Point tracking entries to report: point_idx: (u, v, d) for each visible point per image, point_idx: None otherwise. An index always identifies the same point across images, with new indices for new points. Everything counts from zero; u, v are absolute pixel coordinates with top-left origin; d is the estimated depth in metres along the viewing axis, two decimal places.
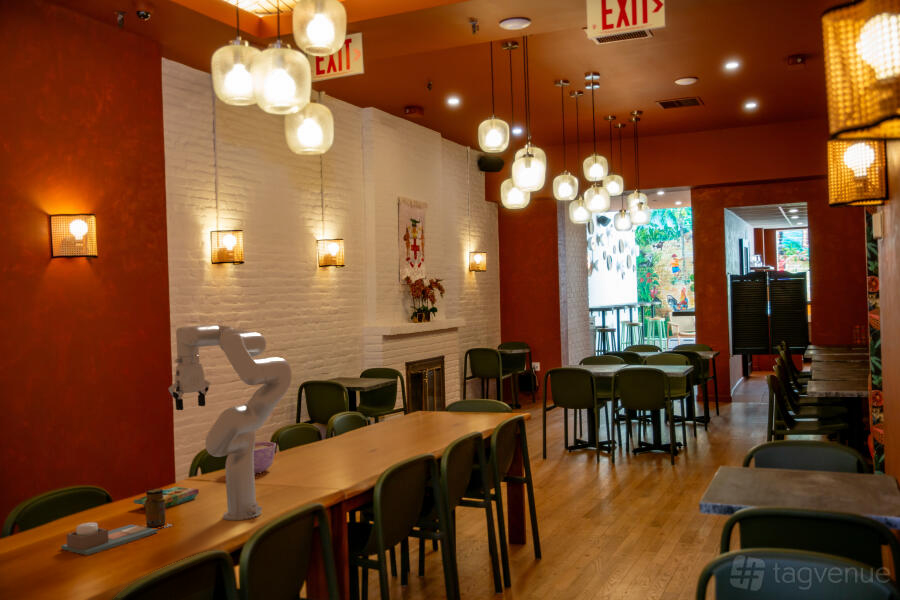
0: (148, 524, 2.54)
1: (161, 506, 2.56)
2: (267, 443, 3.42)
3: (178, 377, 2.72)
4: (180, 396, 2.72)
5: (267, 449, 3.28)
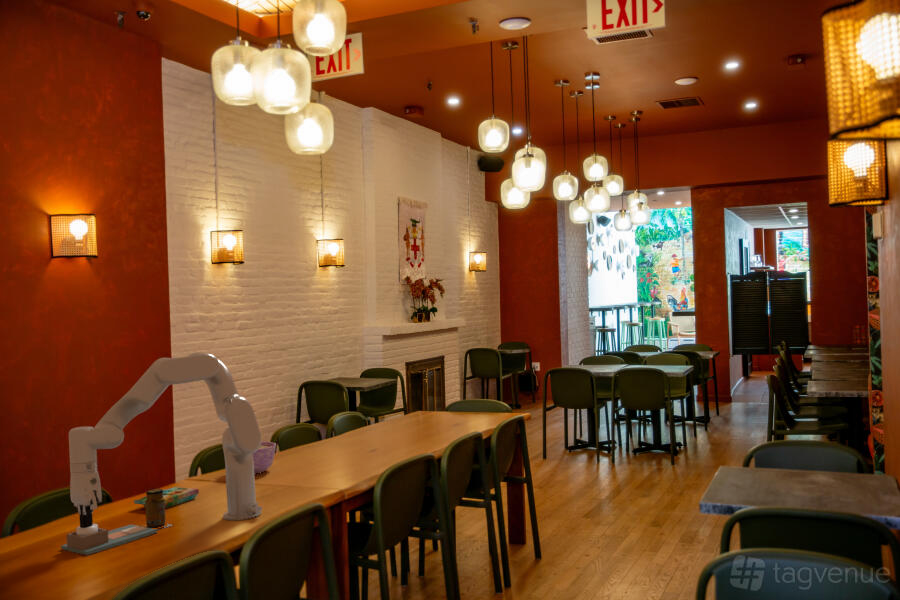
0: (148, 524, 2.54)
1: (161, 506, 2.56)
2: (267, 443, 3.42)
3: (95, 486, 2.33)
4: None
5: (267, 449, 3.28)
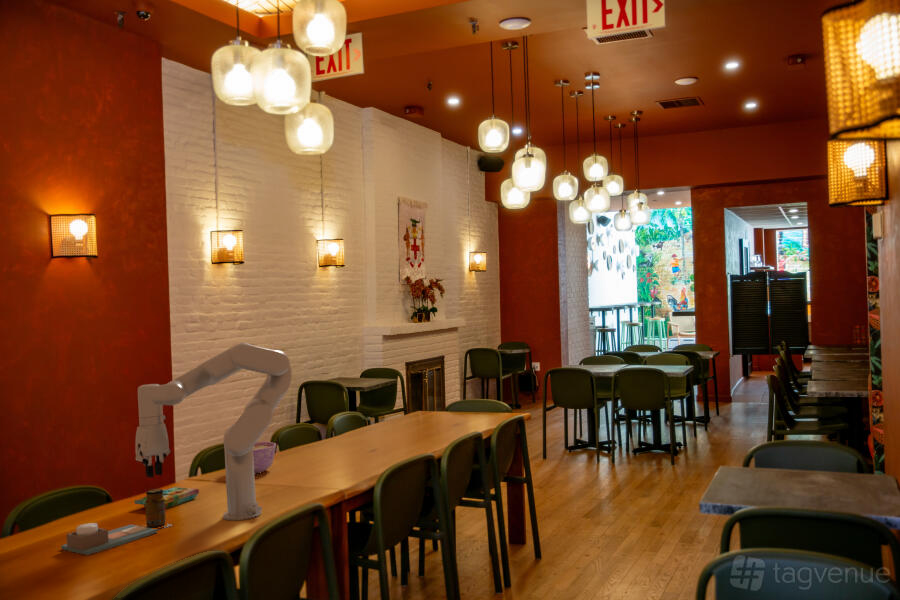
0: (148, 524, 2.54)
1: (161, 506, 2.56)
2: (267, 443, 3.42)
3: None
4: None
5: (267, 449, 3.28)
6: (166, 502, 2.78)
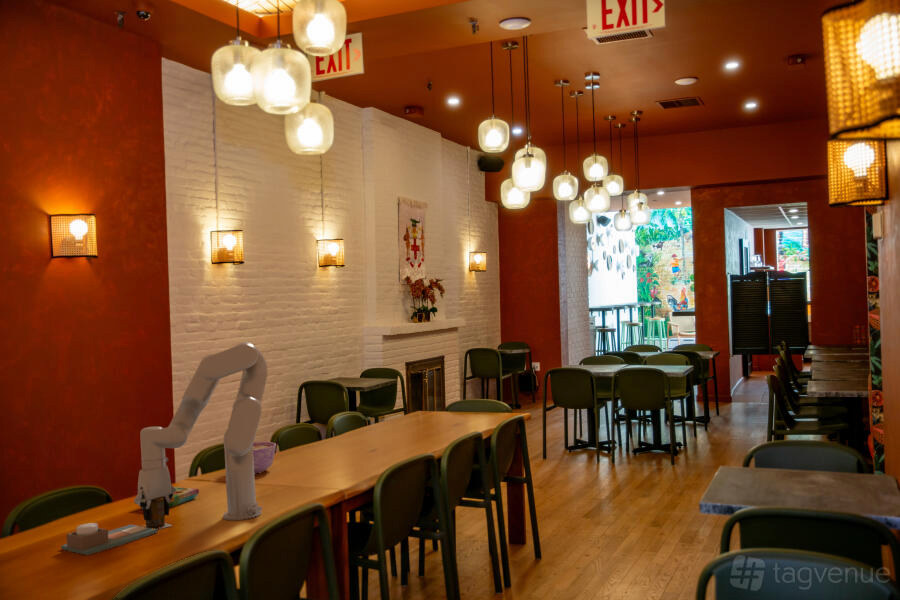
0: (147, 524, 2.54)
1: (160, 506, 2.55)
2: (267, 443, 3.42)
3: None
4: None
5: (267, 449, 3.28)
6: None
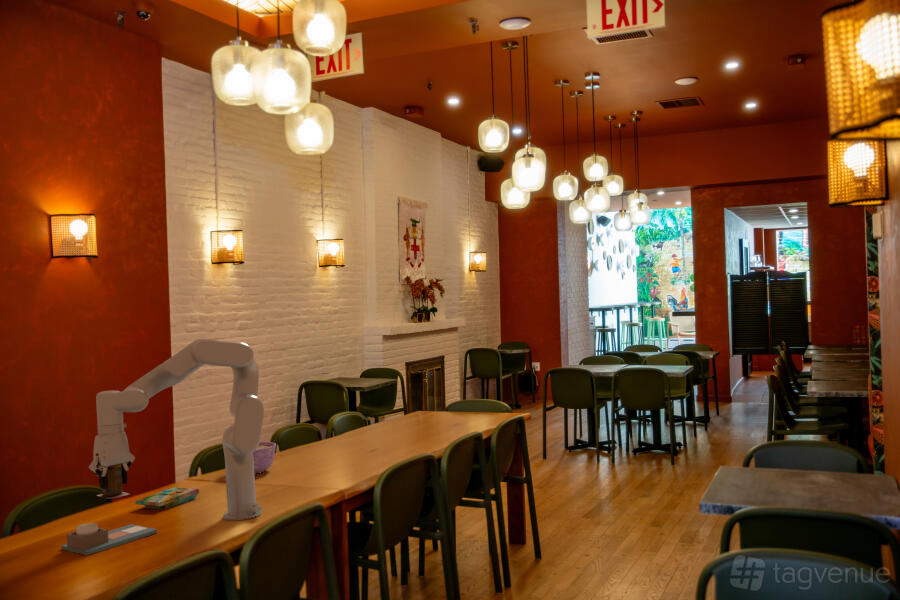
0: (103, 493, 2.42)
1: (117, 474, 2.43)
2: (267, 443, 3.42)
3: None
4: None
5: (267, 449, 3.28)
6: (167, 502, 2.78)
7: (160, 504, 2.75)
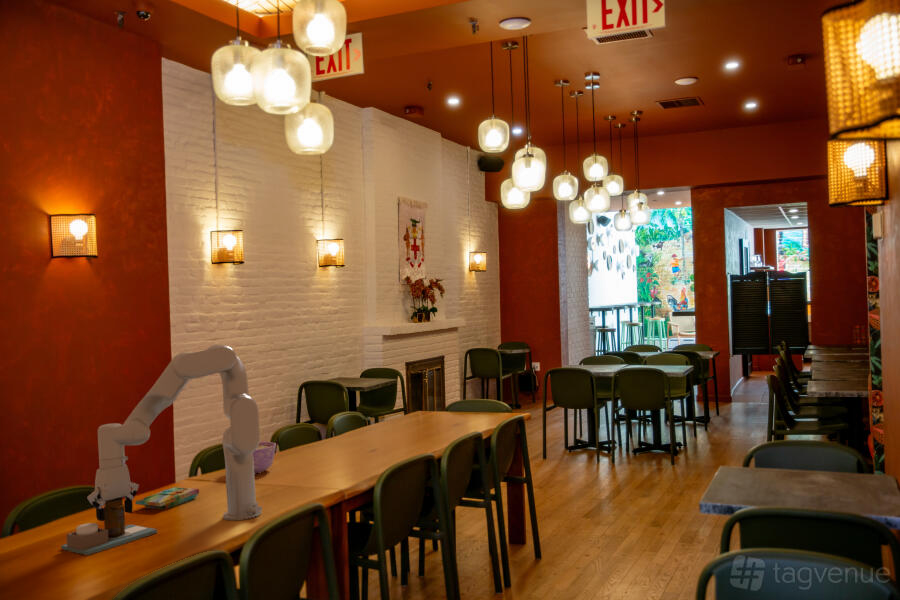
0: None
1: (120, 514, 2.43)
2: (267, 443, 3.42)
3: None
4: None
5: (267, 449, 3.28)
6: (168, 502, 2.78)
7: (161, 504, 2.75)
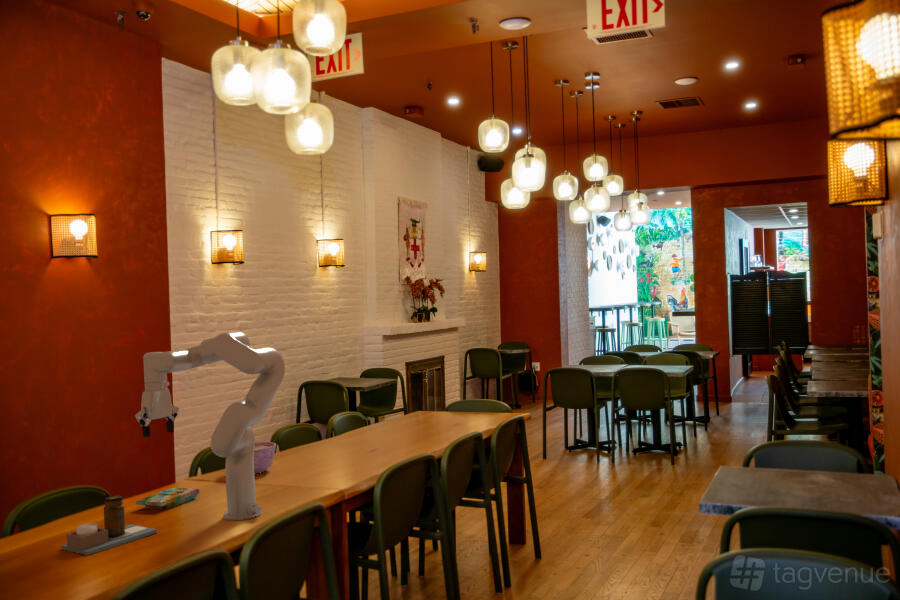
0: None
1: (120, 514, 2.43)
2: (267, 443, 3.42)
3: None
4: None
5: (267, 449, 3.28)
6: (169, 502, 2.78)
7: (162, 504, 2.75)
